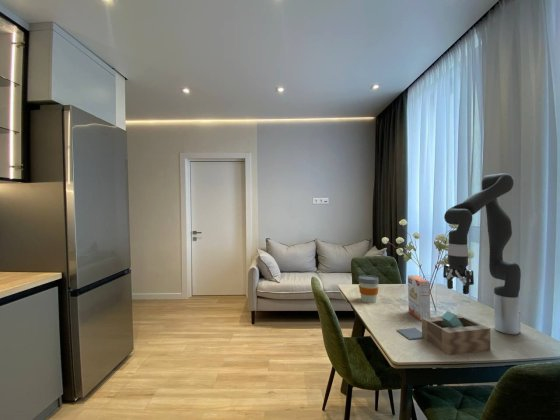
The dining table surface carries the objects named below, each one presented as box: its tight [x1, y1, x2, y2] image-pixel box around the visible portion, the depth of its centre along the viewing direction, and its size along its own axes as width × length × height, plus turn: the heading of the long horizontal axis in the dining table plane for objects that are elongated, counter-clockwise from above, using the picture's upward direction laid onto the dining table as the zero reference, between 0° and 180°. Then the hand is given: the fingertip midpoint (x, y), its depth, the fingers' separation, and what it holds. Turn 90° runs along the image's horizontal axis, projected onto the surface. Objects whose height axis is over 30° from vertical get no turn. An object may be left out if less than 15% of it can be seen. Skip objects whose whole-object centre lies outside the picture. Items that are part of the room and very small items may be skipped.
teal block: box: [441, 310, 464, 327], centre depth 126 cm, size 14×4×4 cm
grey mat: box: [396, 327, 424, 341], centre depth 135 cm, size 10×10×1 cm
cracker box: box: [407, 274, 431, 321], centre depth 158 cm, size 14×6×21 cm, turn 179°
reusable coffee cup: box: [358, 274, 380, 304], centre depth 185 cm, size 13×13×15 cm
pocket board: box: [421, 314, 491, 356], centre depth 125 cm, size 20×16×9 cm
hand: (457, 291), depth 126 cm, fingers open, 8 cm apart
